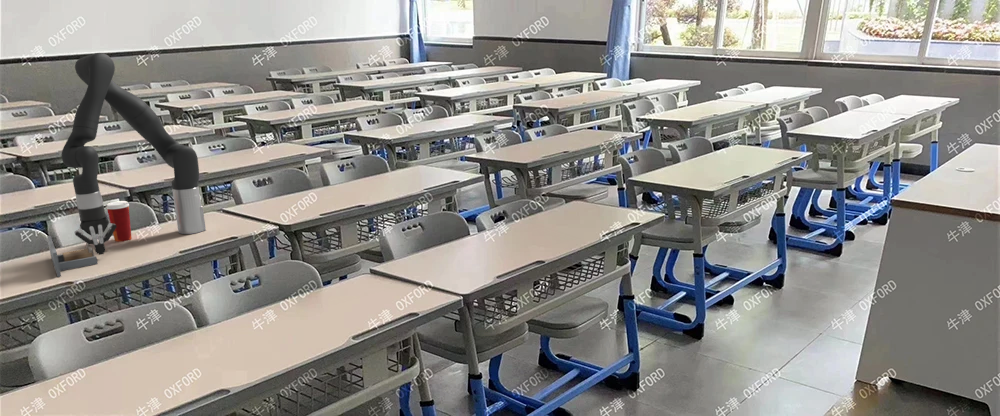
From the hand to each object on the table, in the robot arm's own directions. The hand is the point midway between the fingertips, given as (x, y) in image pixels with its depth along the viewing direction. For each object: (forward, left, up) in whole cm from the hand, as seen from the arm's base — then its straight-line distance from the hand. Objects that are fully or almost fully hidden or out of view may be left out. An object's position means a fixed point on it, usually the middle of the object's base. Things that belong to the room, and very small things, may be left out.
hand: (101, 253), depth 241 cm
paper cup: (-10, -21, -2) cm, 23 cm away
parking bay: (+7, 0, -2) cm, 8 cm away
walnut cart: (+7, 0, -2) cm, 7 cm away
